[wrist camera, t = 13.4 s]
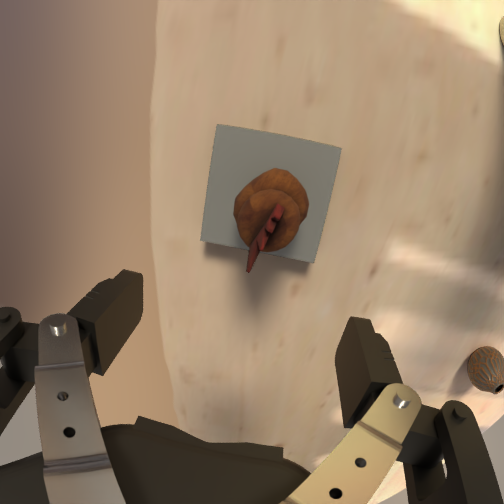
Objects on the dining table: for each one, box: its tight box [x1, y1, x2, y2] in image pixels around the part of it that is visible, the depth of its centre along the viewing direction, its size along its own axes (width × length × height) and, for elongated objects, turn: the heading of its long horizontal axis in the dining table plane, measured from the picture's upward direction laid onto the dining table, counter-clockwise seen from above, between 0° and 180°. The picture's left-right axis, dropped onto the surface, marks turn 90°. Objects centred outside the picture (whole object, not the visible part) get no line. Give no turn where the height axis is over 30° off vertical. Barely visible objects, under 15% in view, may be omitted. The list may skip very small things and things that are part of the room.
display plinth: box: [200, 124, 342, 263], centre depth 35 cm, size 13×13×3 cm
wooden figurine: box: [233, 168, 309, 273], centre depth 26 cm, size 7×6×15 cm
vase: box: [468, 346, 504, 394], centre depth 38 cm, size 7×7×9 cm
